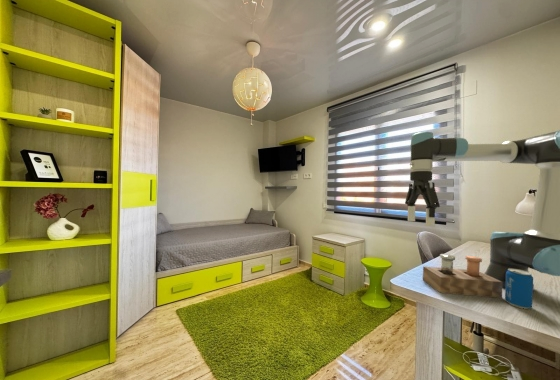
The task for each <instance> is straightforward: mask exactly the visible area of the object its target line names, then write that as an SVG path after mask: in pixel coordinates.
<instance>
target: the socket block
mask: <svg viewBox="0 0 560 380" xmlns="http://www.w3.org/2000/svg"><path fill="white" fill-rule="evenodd" d="M422 266H423V265H422ZM484 273H485V272H481V271H479V277H473V276H469V275H467V269H463V268H461V269H460V268H453V275H446V274H443V273H441V267H435V266H423V267H422V281H424V282H425V283H427V284H428V285H429V286H431V288H434V290H436V291H438V292H439V293H442V294H454V295H465V296H477V297H486V298H487V297H488V298H490V297H491V298H499V299H500V298H503V287H502V284H503V282H501V281H499V280H497V279H495V278H493V277H490V276H488V275H486V274H484Z"/></svg>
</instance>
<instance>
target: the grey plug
mask: <svg viewBox="0 0 560 380" xmlns="http://www.w3.org/2000/svg"><path fill="white" fill-rule="evenodd" d="M439 258H441V262H440V264H441V265H440V266H441V267H440V268H441V273H443V274H446V275H453V269H454V261H456V256H454V255H451V254H447V253H440V254H439Z"/></svg>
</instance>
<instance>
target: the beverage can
mask: <svg viewBox="0 0 560 380" xmlns="http://www.w3.org/2000/svg"><path fill="white" fill-rule="evenodd" d="M533 284H534V276H533V275H532V272H530V271H529V272H527V271H523V270H518V269H508V271H507V272H506V287H505V288H504V289H505V291H504V294H505V295H504V300H505V301H506V302H507V304H509V305H510V306H513V307H516V308H520V309H523V308H524V309H525V310H528V309H531V308H533V296H534V295H533V294H534V293H533V292H534V291H533Z"/></svg>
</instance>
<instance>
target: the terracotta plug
mask: <svg viewBox="0 0 560 380" xmlns="http://www.w3.org/2000/svg"><path fill="white" fill-rule="evenodd" d="M465 259H466V270H467V275H469V276H473V277H479V272H480V267H481V266H480V263H482V261H483V258H482V257H478V256H473V255H465Z"/></svg>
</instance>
